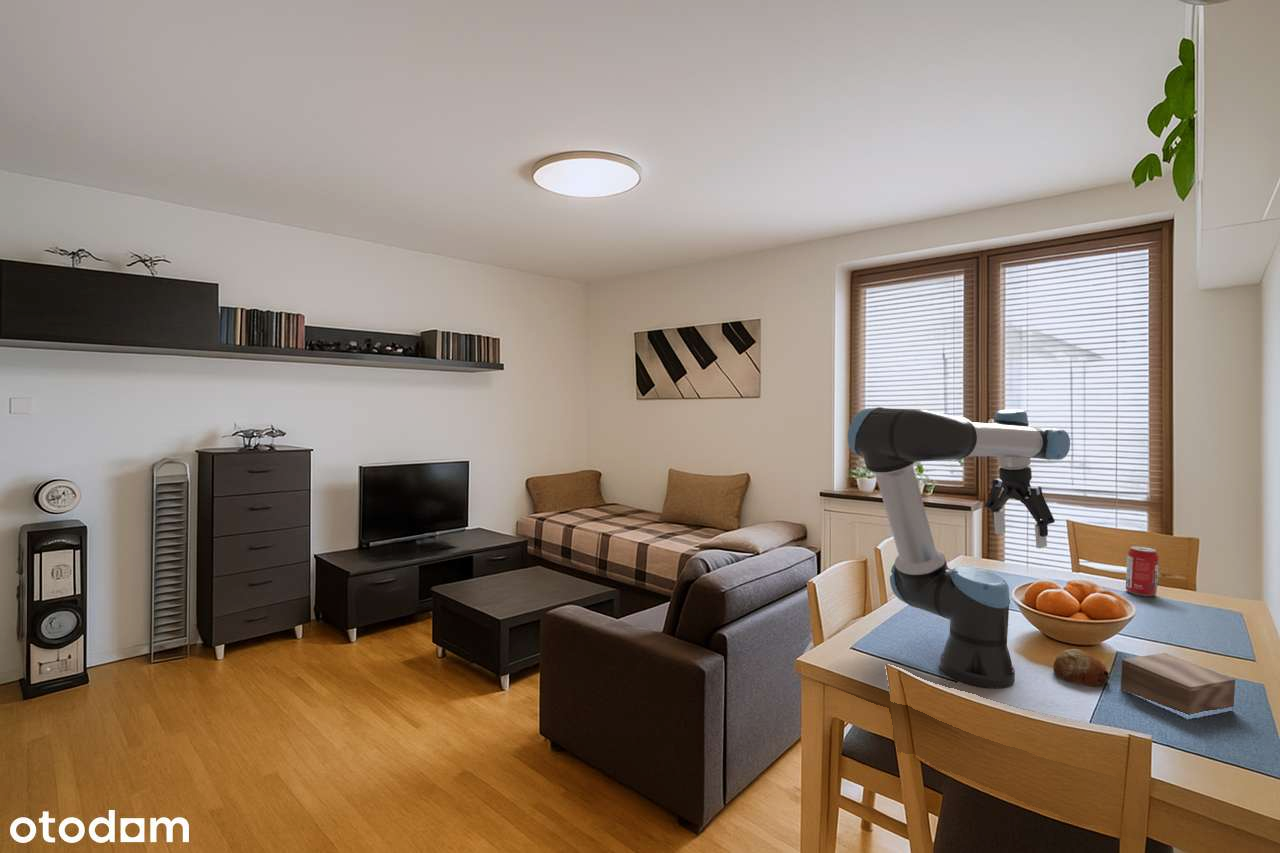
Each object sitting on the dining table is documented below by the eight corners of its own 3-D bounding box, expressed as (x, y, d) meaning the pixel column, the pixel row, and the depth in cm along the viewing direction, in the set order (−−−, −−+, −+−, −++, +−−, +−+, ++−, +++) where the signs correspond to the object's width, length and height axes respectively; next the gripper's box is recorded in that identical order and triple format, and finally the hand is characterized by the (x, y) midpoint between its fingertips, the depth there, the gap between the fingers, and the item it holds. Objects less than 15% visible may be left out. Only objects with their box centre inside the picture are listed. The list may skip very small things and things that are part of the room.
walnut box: (1188, 721, 121) (1190, 687, 120) (1120, 690, 133) (1122, 659, 133) (1233, 712, 124) (1235, 679, 124) (1163, 683, 137) (1165, 652, 136)
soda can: (1119, 590, 201) (1122, 546, 200) (1136, 588, 203) (1138, 544, 202) (1145, 598, 193) (1148, 552, 192) (1162, 596, 196) (1165, 550, 195)
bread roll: (1064, 680, 145) (1048, 647, 147) (1114, 674, 139) (1097, 639, 140) (1060, 696, 137) (1043, 660, 139) (1113, 690, 131) (1094, 653, 133)
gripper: (1067, 470, 153) (1072, 550, 157) (989, 456, 178) (995, 524, 181) (1043, 477, 152) (1049, 556, 155) (968, 461, 176) (974, 530, 179)
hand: (1020, 539), depth 168 cm, fingers open, 13 cm apart
